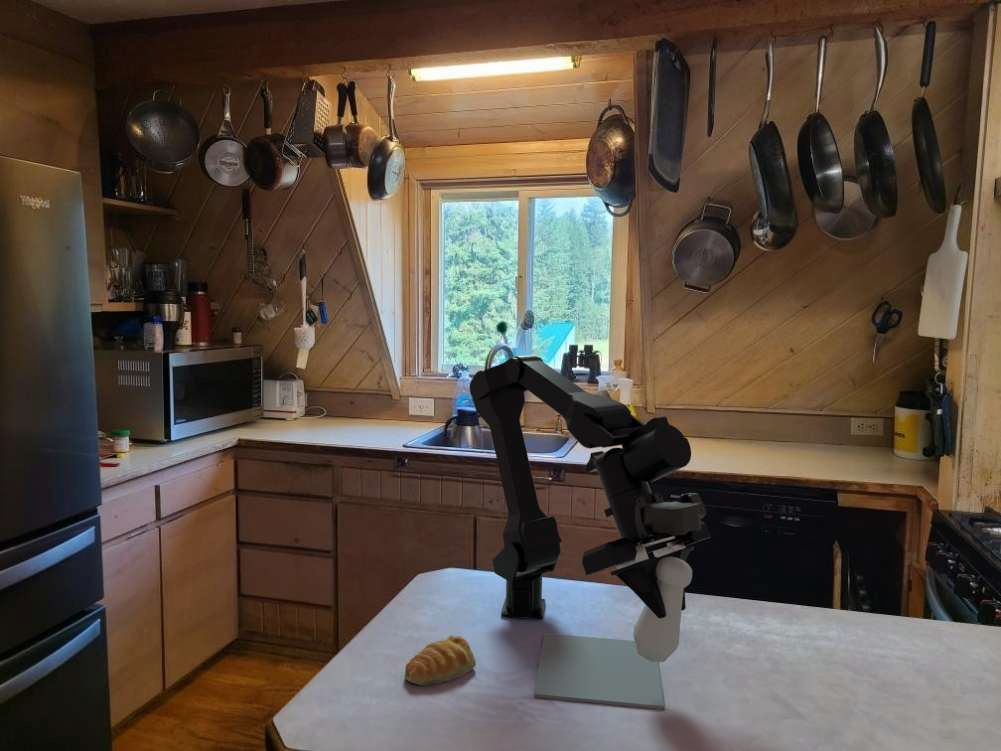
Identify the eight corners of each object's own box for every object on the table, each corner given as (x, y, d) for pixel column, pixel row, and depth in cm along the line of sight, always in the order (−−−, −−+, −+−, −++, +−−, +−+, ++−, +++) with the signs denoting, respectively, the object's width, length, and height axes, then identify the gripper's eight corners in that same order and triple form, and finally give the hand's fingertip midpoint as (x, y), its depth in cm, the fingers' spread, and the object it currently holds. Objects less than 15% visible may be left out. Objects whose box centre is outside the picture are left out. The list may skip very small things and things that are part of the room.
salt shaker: (678, 650, 92) (705, 562, 89) (668, 674, 87) (696, 582, 84) (635, 631, 95) (659, 545, 91) (623, 653, 90) (648, 563, 86)
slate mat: (544, 635, 105) (544, 633, 105) (655, 645, 103) (655, 642, 103) (533, 696, 90) (533, 693, 90) (664, 709, 87) (664, 706, 87)
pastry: (424, 697, 90) (424, 668, 89) (393, 676, 94) (392, 648, 94) (479, 670, 96) (480, 643, 96) (447, 651, 101) (447, 626, 100)
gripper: (621, 482, 82) (671, 620, 77) (718, 464, 93) (767, 583, 88) (561, 511, 89) (603, 638, 85) (657, 491, 101) (699, 601, 96)
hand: (672, 614), depth 88 cm, fingers closed on salt shaker, 3 cm apart
